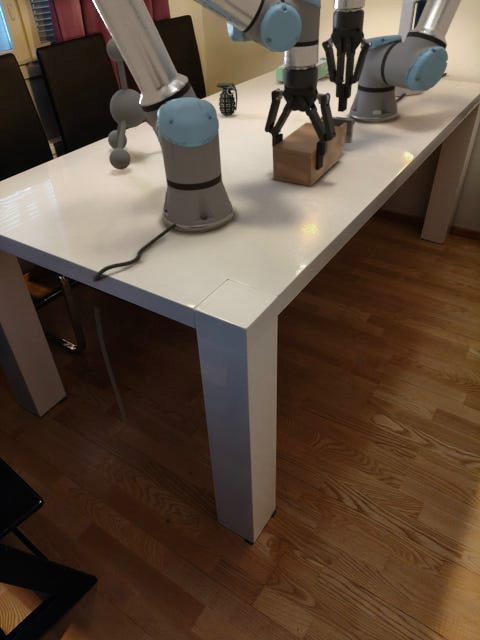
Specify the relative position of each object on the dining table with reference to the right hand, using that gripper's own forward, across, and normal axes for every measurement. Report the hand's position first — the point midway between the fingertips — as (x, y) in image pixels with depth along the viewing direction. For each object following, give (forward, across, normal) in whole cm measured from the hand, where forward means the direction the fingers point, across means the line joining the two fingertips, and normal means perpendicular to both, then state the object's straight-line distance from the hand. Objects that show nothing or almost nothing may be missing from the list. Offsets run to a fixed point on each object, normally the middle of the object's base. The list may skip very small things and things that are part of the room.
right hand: (342, 110), depth 134 cm
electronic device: (+11, +1, -62) cm, 63 cm away
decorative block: (+10, +47, -73) cm, 87 cm away
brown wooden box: (+9, 0, +21) cm, 23 cm away
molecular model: (+9, +48, +31) cm, 57 cm away
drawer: (+8, 0, +8) cm, 11 cm away
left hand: (+6, 0, +26) cm, 27 cm away
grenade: (+10, +47, -13) cm, 50 cm away
